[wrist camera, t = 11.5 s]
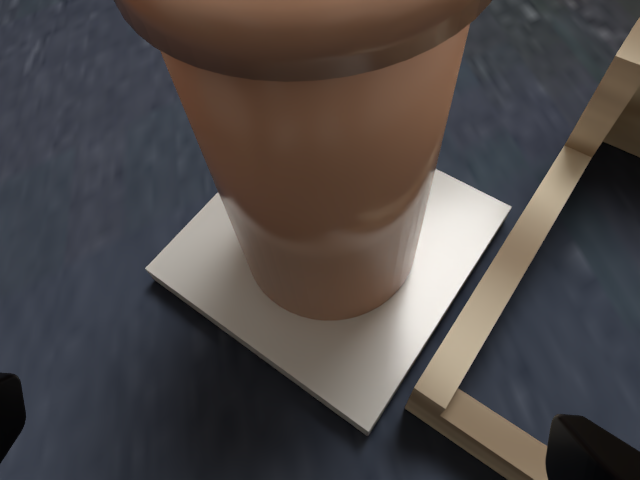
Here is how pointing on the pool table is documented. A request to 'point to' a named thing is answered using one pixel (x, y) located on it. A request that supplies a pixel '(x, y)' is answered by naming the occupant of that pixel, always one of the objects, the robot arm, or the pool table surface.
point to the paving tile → (337, 335)
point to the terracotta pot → (317, 131)
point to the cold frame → (506, 272)
